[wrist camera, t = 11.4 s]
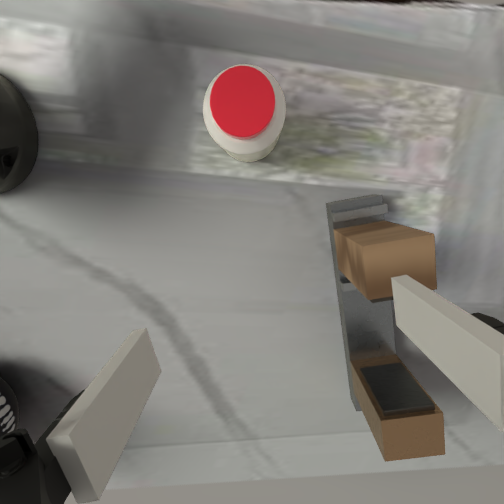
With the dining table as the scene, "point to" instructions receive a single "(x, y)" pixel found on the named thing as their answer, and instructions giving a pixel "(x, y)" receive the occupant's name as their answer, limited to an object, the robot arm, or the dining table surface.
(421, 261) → the brown wooden block
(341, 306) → the rail
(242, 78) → the pill bottle
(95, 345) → the dining table surface
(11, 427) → the vase
